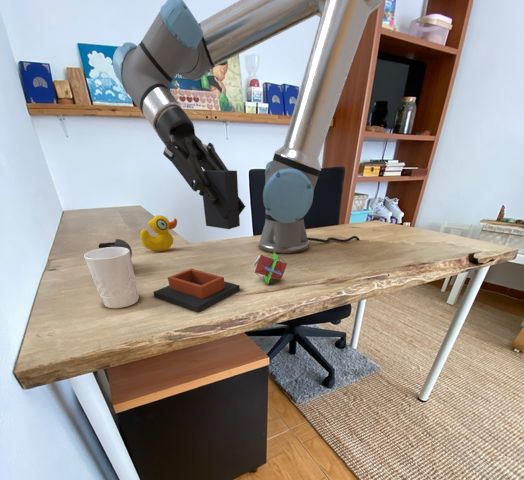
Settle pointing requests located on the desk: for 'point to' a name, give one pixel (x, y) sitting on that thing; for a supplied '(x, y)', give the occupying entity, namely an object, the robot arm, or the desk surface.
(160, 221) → the duckling
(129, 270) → the white cup
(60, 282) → the desk surface
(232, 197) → the pad block
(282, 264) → the geometric puzzle
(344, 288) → the desk surface
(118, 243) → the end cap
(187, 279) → the base pad
